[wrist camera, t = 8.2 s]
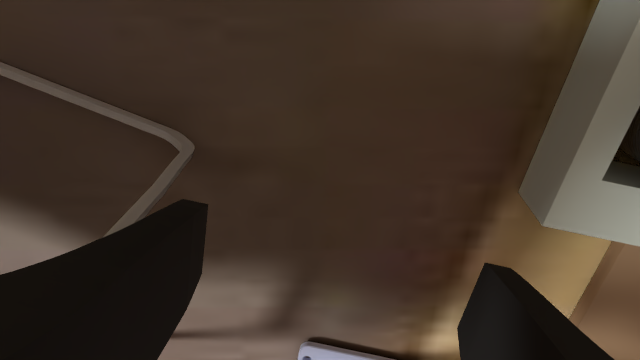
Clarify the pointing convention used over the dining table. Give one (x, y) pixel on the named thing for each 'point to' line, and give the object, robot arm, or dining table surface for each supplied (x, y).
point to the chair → (170, 135)
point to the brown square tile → (613, 303)
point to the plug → (632, 138)
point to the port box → (592, 135)
